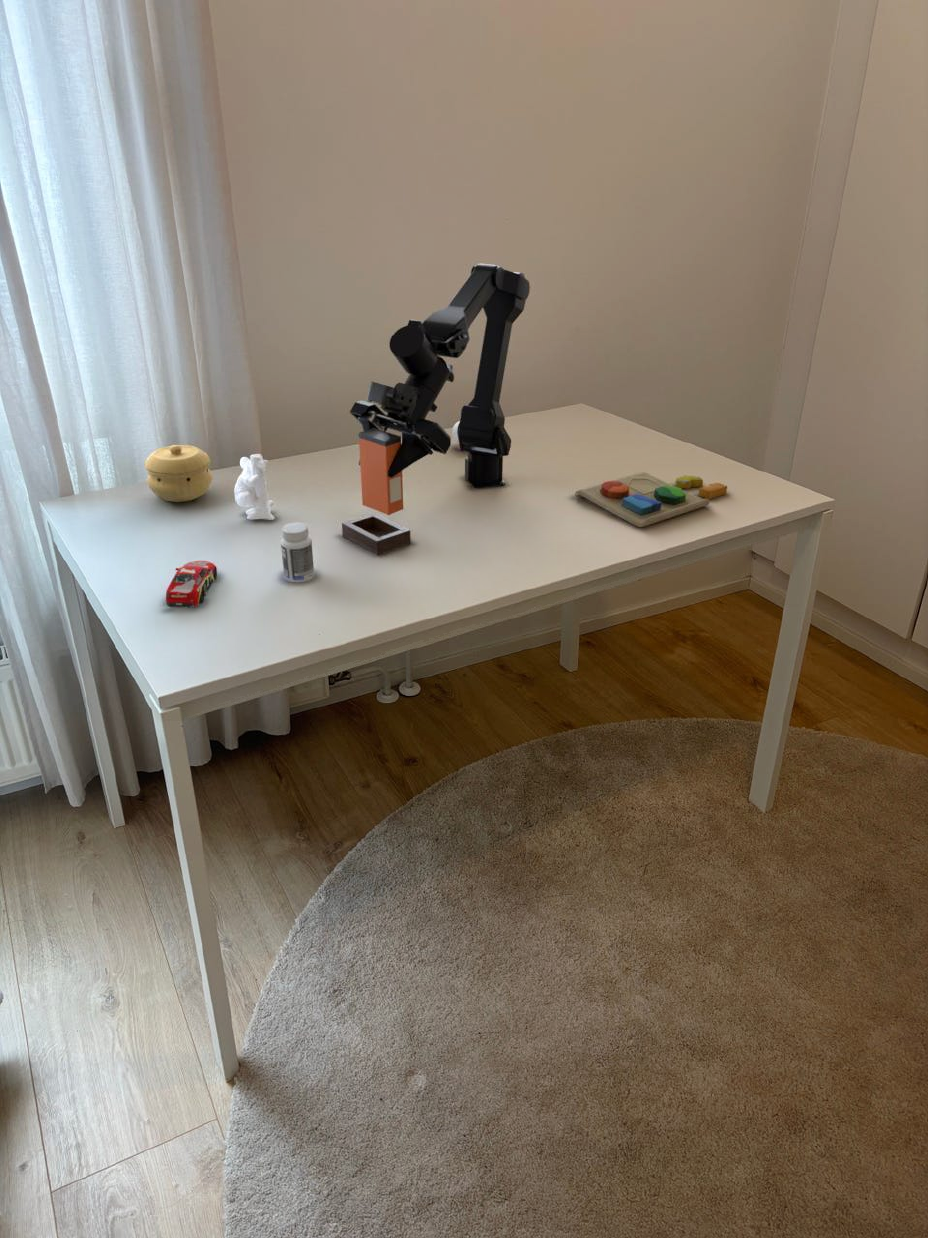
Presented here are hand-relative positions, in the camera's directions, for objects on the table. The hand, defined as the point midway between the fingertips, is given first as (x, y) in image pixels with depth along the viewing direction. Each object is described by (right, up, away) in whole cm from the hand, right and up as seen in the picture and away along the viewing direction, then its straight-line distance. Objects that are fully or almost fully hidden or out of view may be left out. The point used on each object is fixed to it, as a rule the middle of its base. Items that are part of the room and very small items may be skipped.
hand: (374, 471), depth 155 cm
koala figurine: (-22, -6, +17) cm, 28 cm away
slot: (0, -11, +8) cm, 13 cm away
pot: (-38, -1, +25) cm, 45 cm away
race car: (-27, -20, -9) cm, 35 cm away
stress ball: (+16, +13, +50) cm, 54 cm away
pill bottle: (-11, -17, -4) cm, 21 cm away
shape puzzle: (+50, -2, +25) cm, 56 cm away
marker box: (+1, -5, +4) cm, 7 cm away
